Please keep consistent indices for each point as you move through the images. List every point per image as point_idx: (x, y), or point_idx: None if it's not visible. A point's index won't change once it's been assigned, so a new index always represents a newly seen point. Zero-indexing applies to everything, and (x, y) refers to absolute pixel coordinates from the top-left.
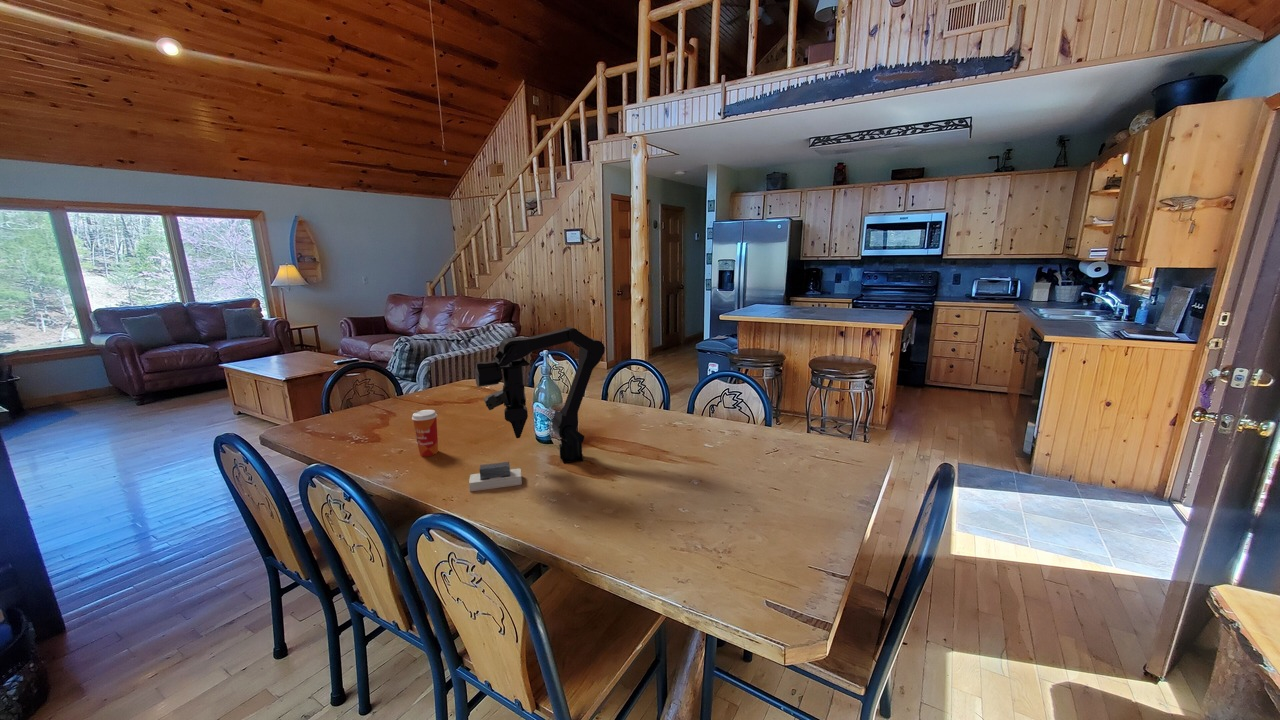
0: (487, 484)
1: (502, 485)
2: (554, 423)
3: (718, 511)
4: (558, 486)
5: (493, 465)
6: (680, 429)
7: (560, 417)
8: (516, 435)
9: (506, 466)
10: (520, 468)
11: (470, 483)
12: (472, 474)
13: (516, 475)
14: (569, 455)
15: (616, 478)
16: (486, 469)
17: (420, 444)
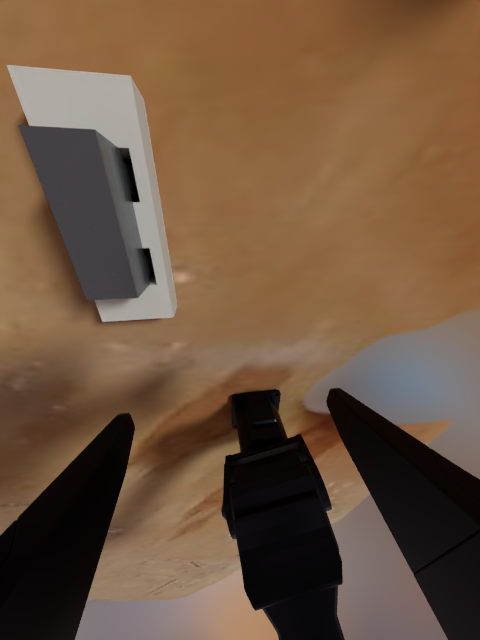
0: None
1: None
2: (282, 512)
3: None
4: (100, 390)
5: (91, 221)
6: None
7: (261, 580)
8: (100, 439)
9: (82, 288)
10: (171, 317)
11: (12, 79)
12: (130, 92)
13: (110, 307)
14: (238, 419)
15: (136, 467)
16: (42, 178)
17: None
